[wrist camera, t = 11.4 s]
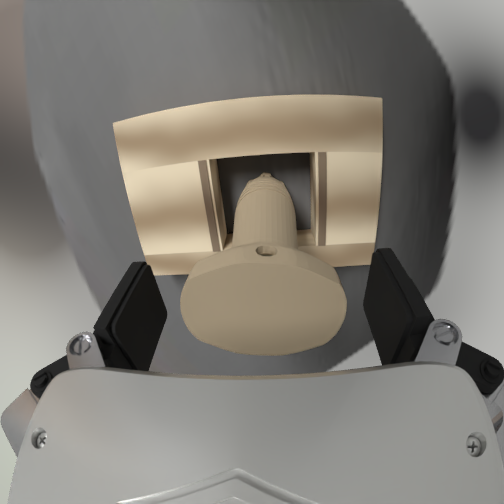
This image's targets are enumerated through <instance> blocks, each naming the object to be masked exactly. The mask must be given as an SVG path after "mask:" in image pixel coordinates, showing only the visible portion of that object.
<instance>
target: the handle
mask: <svg viewBox="0 0 504 504" xmlns="http://www.w3.org/2000/svg"><path fill="white" fill-rule="evenodd" d="M180 305H181V313H182V316H183V320H184V322H185V324H186V326H187V328H188V329H189V330H190V332H191V333H192V334H193V335H194V336H195V337H196V338H197V339H198V340H200V341H203V342H205V343H208V344H210V345H213V346H216V347H219V348H221V349H224V350H227V351H231V352H235V353H239V354H248V355H270V356H274V355H287V354H293V353H297V352H301V351H304V350H308V349H311V348H315V347H318V346H321V345H324V344H326V343H327V342H328V341H329V340H331V339H332V338H333V337H334V336H335V335H336V333H337V332H338V330H339V329H340V327H341V325H342V323H343V321H344V318H345V314H346V309H347V299H346V296H345V293H344V290H343V287H342V284H341V281H340V278H339V276H338V274H337V273H336V271H335V269H334V268H333V267H332V266H330V265H329V264H327V263H325V262H323V261H322V260H320V259H318V258H316V257H314V256H312V255H310V254H307V253H305V252H303V251H300V250H298V244H297V230H296V215H295V209H294V205H293V202H292V199H291V197H290V194H289V192H288V191H287V189H286V187H285V185H284V183H283V182H282V181H279V180H277V179H275V178H273V177H272V176H271V174H270V173H262V174H261V175H260V176H259V177H258V178H256V179H253V180H249V181H248V183H247V185H246V187H245V189H244V190H243V192H242V194H241V196H240V198H239V200H238V203H237V207H236V211H235V219H234V231H233V240H232V248H230V249H227V250H224V251H221V252H218V253H216V254H213V255H211V256H209V257H207V258H204V259H202V260H200V261H198V262H197V263H196V264H195V265H194V267H193V268H192V270H191V271H190V274H189V276H188V278H187V280H186V283H185V285H184V287H183V290H182V293H181V300H180Z"/></svg>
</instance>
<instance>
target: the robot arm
mask: <svg viewBox="0 0 504 504" xmlns="http://www.w3.org/2000/svg"><path fill="white" fill-rule="evenodd" d="M363 306H364V311H365V314H366V317H367V319H368V322H369V325H370V328H371V331H372V334H373V337H374V341H375V344H376V347H377V350H378V353H379V356H380V360H381V363H382V366H375V367H367V368H359V369H350V370H342V371H332V372H321V373H308V374H292V375H269V376H212V375H188V374H173V373H160V372H150V371H149V367H150V364H151V361H152V359H153V356H154V353H155V350H156V347H157V344H158V341H159V338H160V335H161V332H162V330H163V327H164V324H165V321H166V319H167V310H166V307H165V304H164V302H163V299H162V296H161V294H160V291H159V288H158V285H157V283H156V280H155V277H154V274H153V271H152V268H151V266H150V265H147V263H146V262H133V263H132V264H131V265H130V267H129V268H128V270H127V272H126V273H125V275H124V276H123V278H122V280H121V281H120V283H119V284H118V286H117V288H116V289H115V291H114V293H113V294H112V296H111V298H110V299H109V301H108V303H107V304H106V306H105V308H104V309H103V311H102V313H101V315H100V316H99V318H98V320H97V322H96V324H95V325H94V329H95V331H94V333H93V334H92V333H90V332H82V333H79V334H77V335H75V336H74V337H73V338H72V339H71V340H70V341H69V343H68V345H67V347H66V353H67V355H66V356H64V357H62V358H61V359H59V360H57V361H55V362H53V363H52V364H50V365H48V366H47V367H45V368H43V369H41V370H40V371H38V372H37V373H36V374H35V375H34V376H33V378H32V380H31V384H30V387H31V389H30V390H29V389H28V388H27V389H26V390H25V391H24V392H23V393H22V394H21V395H20V396H19V397H18V398H17V399H15V401H13V403H11V405H10V406H9V407H7V408H6V410H5V411H4V412H3V413H2V416H1V425H2V428H3V430H4V432H5V434H6V436H7V438H8V440H9V442H10V444H11V446H12V448H13V450H14V452H15V454H16V456H17V461H16V465H15V469H14V473H13V478H12V482H11V487H10V493H9V498H8V504H504V369H503V367H502V364H501V363H500V362H499V361H498V360H497V359H495V358H494V357H491V356H490V355H488V354H486V353H484V352H481V351H479V350H478V349H476V348H474V347H472V346H470V345H468V344H466V343H464V342H462V333H461V330H460V329H459V327H458V326H457V325H456V324H455V323H453V322H451V321H449V320H445V319H438V320H434V318H433V316H432V314H431V312H430V310H429V309H428V307H427V305H426V303H425V301H424V300H423V298H422V296H421V294H420V293H419V291H418V289H417V287H416V286H415V284H414V282H413V281H412V279H411V278H409V276H408V275H407V273H406V271H405V270H404V268H403V267H402V265H401V263H400V262H399V260H398V259H397V257H396V256H395V254H394V252H393V251H392V249H391V248H382V249H377V250H376V252H374V253H373V254H372V258H371V264H370V270H369V276H368V281H367V287H366V292H365V297H364V302H363Z"/></svg>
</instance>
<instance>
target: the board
mask: <svg viewBox="0 0 504 504" xmlns="http://www.w3.org/2000/svg"><path fill="white" fill-rule="evenodd" d="M113 128H114V133H115V139H116V144H117V149H118V154H119V159H120V164H121V169H122V173H123V178H124V182H125V186H126V191H127V195H128V199H129V203H130V206H131V210H132V214H133V218H134V221H135V225H136V229H137V232H138V236H139V239H140V242H141V246H142V249H143V252H144V255H145V259H146V262H147V265H150V266H151V268H152V271H153V274H154V275H179V274H190V271H191V270H192V268H193V267H194V265H195V264H196V263H197V262H198V261H200V260H202V259H204V258H207V257H209V256H211V255H213V254H216V253H218V252H221V251H224V250H227V249H230V248H232V240H233V234H227V229H226V222H225V215H224V208H223V201H222V194H221V187H220V180H219V172H218V165H217V159H218V158H228V157H238V156H250V155H263V154H279V153H302V152H309V154H310V190H311V229H306V230H297V244H298V250H300V251H303V252H305V253H307V254H310V255H312V256H314V257H316V258H318V259H320V260H322V261H323V262H325V263H327V264H329V265H330V266H332V267H341V266H356V265H370V264H371V258H372V254H373V253H374V247H375V240H376V232H377V223H378V213H379V203H380V190H381V175H382V150H383V108H382V98H377V97H365V96H349V95H279V96H262V97H250V98H240V99H230V100H222V101H215V102H208V103H201V104H195V105H189V106H184V107H178V108H173V109H168V110H163V111H159V112H154V113H150V114H146V115H142V116H138V117H134V118H130V119H126V120H123V121H119V122H116V123H113Z"/></svg>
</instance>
